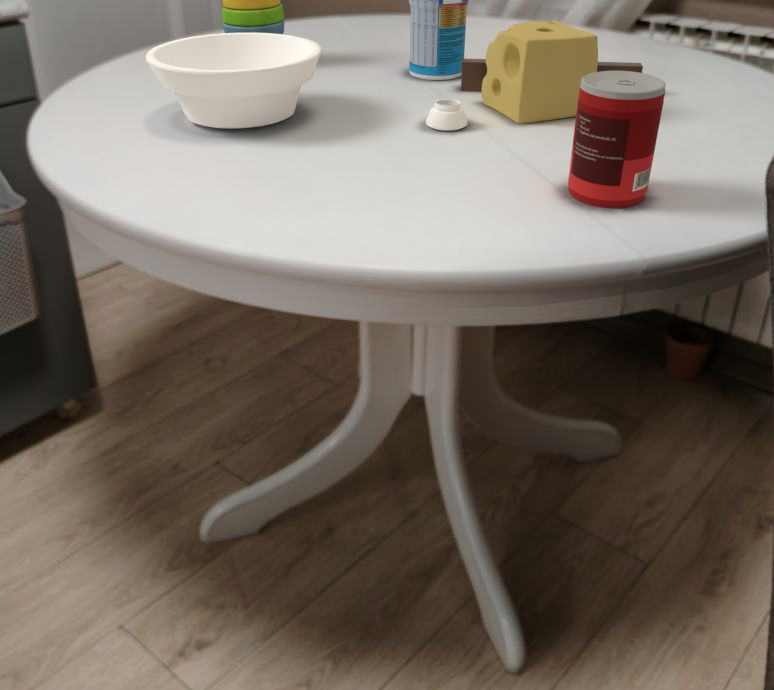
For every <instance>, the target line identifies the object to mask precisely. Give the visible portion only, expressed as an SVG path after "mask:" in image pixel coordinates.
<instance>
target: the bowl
mask: <svg viewBox="0 0 774 690" xmlns="http://www.w3.org/2000/svg"><path fill="white" fill-rule="evenodd" d="M322 50H323V49H322V47H321V46H320V44H319V43H317V42H315V41H313V40H311V39H307V38H305V37H301V36H296V35H291V34H284V33H283V34H274V33H253V32H252V33H225V32H224V33H223V32H222V33H212V34H203V35H194V36H189V37H184V38H183V37H182V38H178V39H175V40H171V41H167V42H165V43H162V44H159V45H157V46H155V47H152V48H151V49H150V50H148V51H147V53H146V55H145V60H146V63H147V64H148V66H149V67H150V69H151V71H152V72H153V73H154V75H155V77H156V79H157V80H158V82H159V83H160V85H161V86H162V87H163V88H164V89H166V90H168V91H169V92H173V93H174V94H175V96H176V98H177V100H178V102H179V105H180V107H181V109H182V111H183V113H184V115H185V117H186V119H187V120H188V121H190V122H191V123H192V124H193V123H194V124H197V125H199V126H204V127H208V128H215V129H248V128H249V129H251V128H257V127H265V126H269V125H273V124H276V123H279V122H281V121H282V122H283V121H285V120H287V119H288V118H290V117H292V116H293V115H294V114H295V113H296V111H295V110H296V108H297V104H298V99H299V95H300V91H301V87H302V86H304V85H305V84H307V83H309V81H310V80H311V79H312V78H313V76H314V73H315V71H316V68H317V66H318V62H319V59H320V58H321V55H322Z"/></svg>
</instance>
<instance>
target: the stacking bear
mask: <svg viewBox="0 0 774 690" xmlns="http://www.w3.org/2000/svg"><path fill="white" fill-rule="evenodd" d="M283 7H284V6H283V4H282V3H281V0H222V8H221V20H222V29H223V32H224V33H252V32H253V33H274V34H284V33H285V13H284V8H283Z"/></svg>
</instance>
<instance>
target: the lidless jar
mask: <svg viewBox="0 0 774 690" xmlns="http://www.w3.org/2000/svg"><path fill="white" fill-rule="evenodd" d="M425 124H426V125H427V126H428V127H429V128H431V129H432V130H433V129H434V130H437V131H443V132H452V131H457V130H460V129H463V128H465V127H467V126H468V118H467V116H466V113H465V110H464V109H463V107H461V101H459V100H457V99H453V98H441V99H437V100H435V101H434V105H433V106H432V107H431V109H430V111H429V113H428V115H427V116H426V119H425Z"/></svg>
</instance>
